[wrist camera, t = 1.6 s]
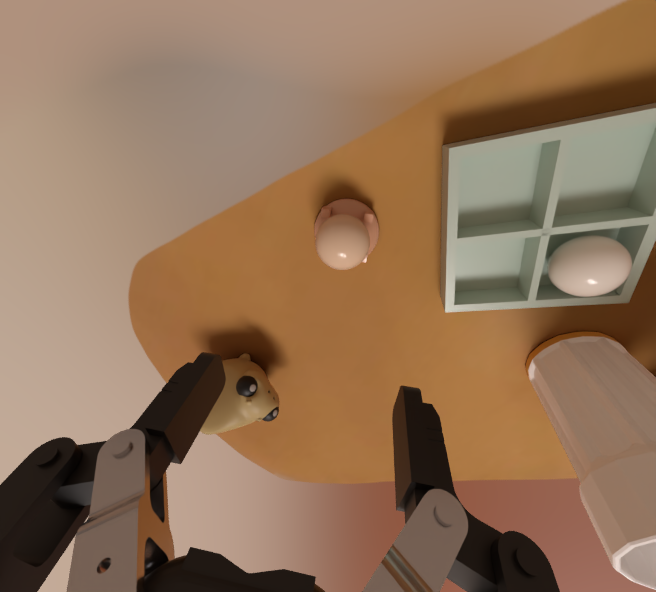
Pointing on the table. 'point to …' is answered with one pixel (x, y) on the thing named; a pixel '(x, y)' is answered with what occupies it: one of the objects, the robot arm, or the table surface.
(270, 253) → the table surface
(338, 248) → the brown egg
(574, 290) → the cream egg
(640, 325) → the table surface
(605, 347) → the cup
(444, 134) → the table surface
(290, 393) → the table surface
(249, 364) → the yellow toy animal head
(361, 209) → the egg cup
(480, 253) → the egg tray
